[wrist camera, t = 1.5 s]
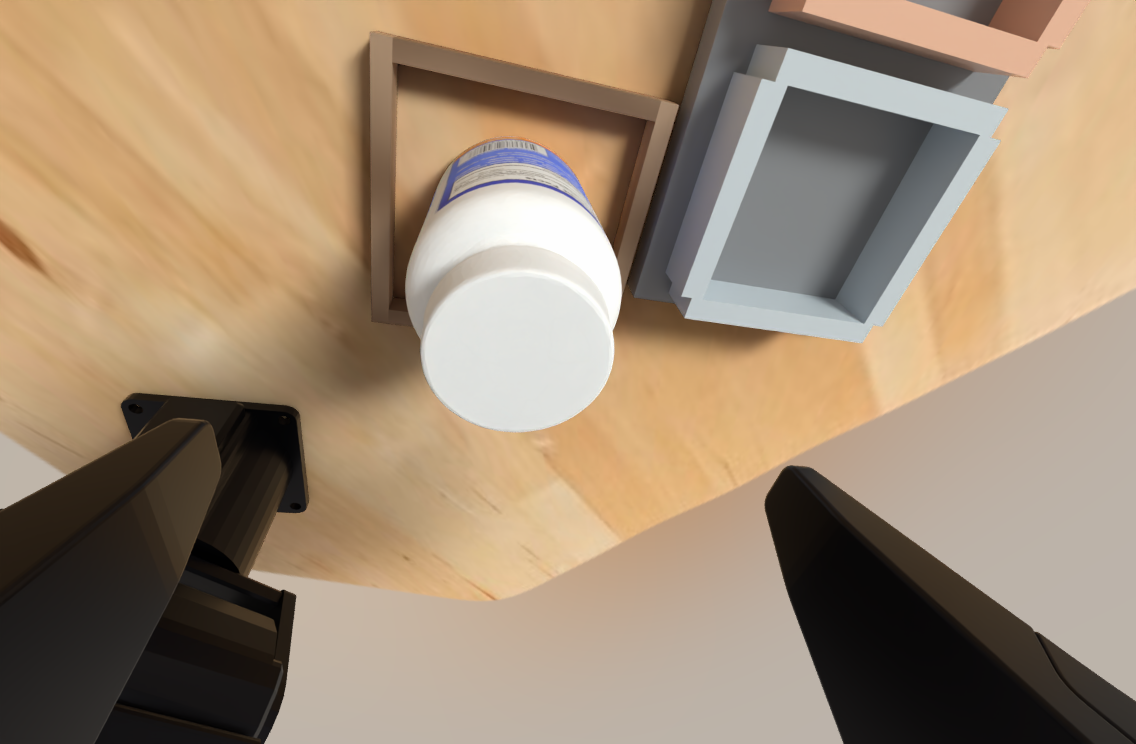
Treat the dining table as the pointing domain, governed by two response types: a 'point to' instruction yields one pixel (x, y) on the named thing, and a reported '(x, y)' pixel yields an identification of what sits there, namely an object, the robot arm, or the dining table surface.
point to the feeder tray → (512, 76)
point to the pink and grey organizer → (829, 153)
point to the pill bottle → (513, 289)
